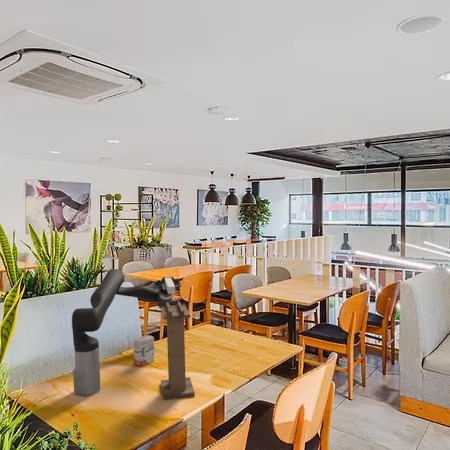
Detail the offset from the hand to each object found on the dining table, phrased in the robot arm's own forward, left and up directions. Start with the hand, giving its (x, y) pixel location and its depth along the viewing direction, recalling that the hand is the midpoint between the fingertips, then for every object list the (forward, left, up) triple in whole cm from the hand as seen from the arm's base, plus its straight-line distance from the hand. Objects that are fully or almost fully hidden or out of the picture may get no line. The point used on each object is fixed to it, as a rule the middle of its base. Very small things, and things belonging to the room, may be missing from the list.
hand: (168, 278), depth 184 cm
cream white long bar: (-4, -4, -3) cm, 7 cm away
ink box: (-8, +9, -39) cm, 41 cm away
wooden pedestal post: (-22, -22, -39) cm, 50 cm away
